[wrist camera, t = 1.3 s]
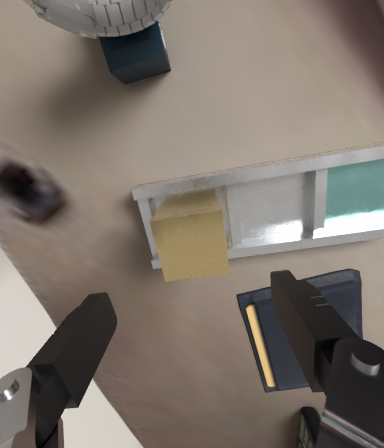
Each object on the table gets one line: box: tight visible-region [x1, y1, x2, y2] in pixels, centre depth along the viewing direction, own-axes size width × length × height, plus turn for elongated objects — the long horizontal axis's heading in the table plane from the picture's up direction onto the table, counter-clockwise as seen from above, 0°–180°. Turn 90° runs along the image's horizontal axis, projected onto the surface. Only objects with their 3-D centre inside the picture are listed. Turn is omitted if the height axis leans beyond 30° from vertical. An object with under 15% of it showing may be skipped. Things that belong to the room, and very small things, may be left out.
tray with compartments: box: [131, 142, 384, 269], centre depth 20 cm, size 8×26×3 cm, turn 100°
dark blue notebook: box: [237, 269, 363, 393], centre depth 27 cm, size 20×2×15 cm
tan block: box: [149, 191, 230, 282], centre depth 18 cm, size 5×5×7 cm
